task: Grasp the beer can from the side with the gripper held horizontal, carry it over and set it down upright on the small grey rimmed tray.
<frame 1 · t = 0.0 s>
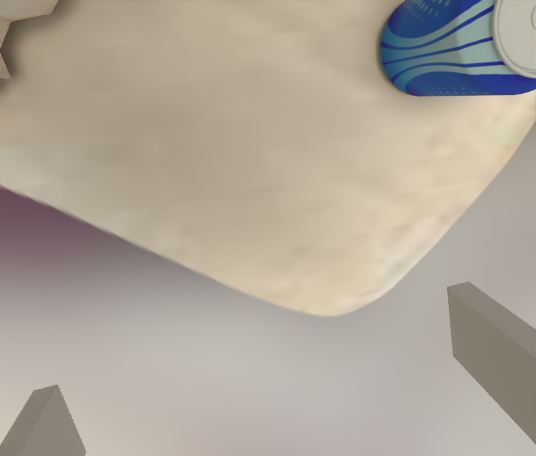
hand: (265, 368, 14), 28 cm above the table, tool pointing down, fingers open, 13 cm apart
potion bottle: (12, 1, 35), on the table
beer can: (418, 48, 40), on the table
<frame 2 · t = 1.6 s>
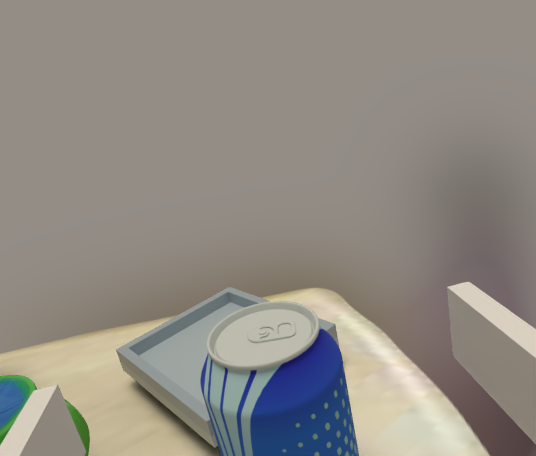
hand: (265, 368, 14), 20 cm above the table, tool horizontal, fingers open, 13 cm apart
grey rimmed tray: (231, 377, 47), on the table
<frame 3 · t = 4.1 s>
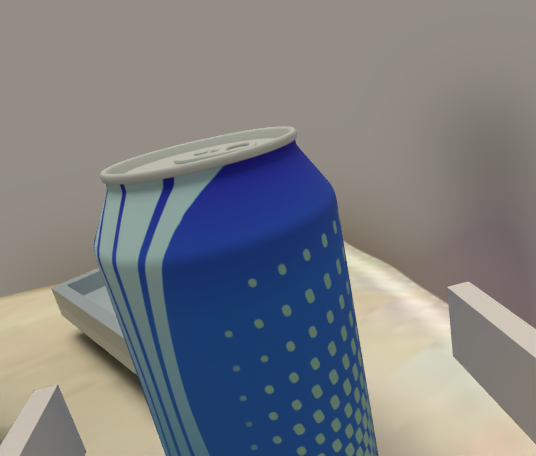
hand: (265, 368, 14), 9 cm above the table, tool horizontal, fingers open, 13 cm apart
grey rimmed tray: (198, 321, 37), on the table
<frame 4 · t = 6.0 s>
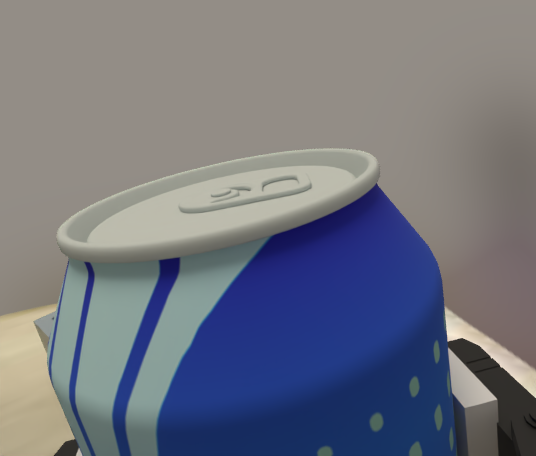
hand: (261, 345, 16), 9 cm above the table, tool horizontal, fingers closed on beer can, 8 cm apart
grey rimmed tray: (205, 361, 32), on the table
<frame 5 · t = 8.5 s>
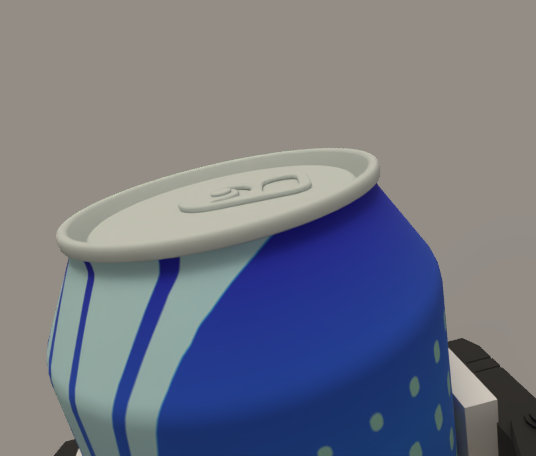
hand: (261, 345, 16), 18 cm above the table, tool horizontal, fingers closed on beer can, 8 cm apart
when the fingers open (14 cm above the table, at t = 9.6 s): beer can drops 1 cm, resting on grey rimmed tray.
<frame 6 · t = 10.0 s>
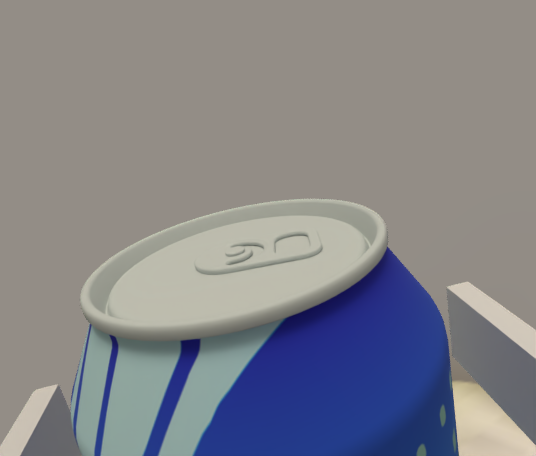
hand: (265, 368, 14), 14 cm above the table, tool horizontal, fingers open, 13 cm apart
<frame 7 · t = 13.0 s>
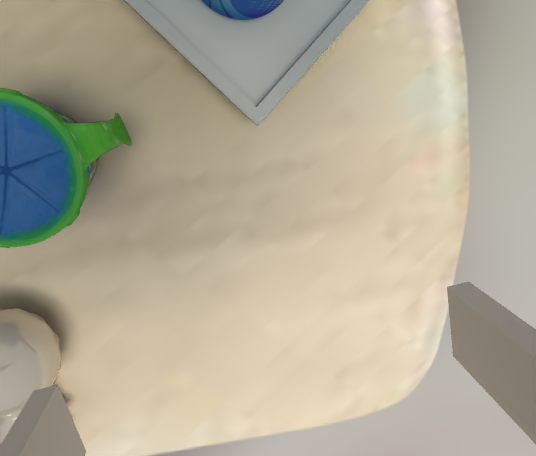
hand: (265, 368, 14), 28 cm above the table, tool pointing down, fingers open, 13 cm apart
snack cup: (55, 155, 39), on the table
potion bottle: (33, 359, 44), on the table
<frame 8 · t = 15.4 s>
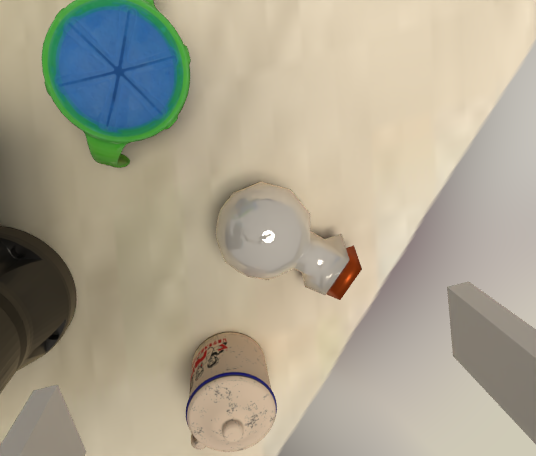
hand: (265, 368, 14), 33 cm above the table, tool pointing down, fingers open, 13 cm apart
teacup with lid: (222, 371, 52), on the table
snack cup: (139, 77, 42), on the table
potion bottle: (281, 229, 48), on the table
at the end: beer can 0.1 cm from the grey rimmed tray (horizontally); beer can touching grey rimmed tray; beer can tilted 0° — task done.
